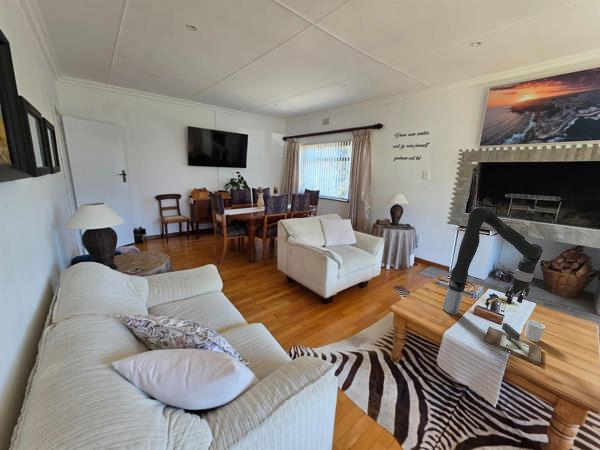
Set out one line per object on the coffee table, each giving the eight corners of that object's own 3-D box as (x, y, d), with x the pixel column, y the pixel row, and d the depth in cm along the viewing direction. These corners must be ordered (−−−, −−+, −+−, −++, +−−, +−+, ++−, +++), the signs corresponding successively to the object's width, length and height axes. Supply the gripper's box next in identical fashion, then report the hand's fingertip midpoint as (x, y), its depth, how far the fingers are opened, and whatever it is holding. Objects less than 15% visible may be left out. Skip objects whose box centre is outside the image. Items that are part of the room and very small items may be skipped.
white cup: (534, 343, 143) (539, 329, 140) (519, 334, 150) (524, 320, 148) (543, 341, 145) (548, 327, 143) (528, 332, 152) (533, 318, 150)
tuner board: (483, 341, 143) (484, 338, 143) (488, 328, 154) (489, 325, 154) (539, 365, 127) (540, 362, 126) (540, 350, 138) (541, 346, 138)
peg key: (500, 332, 148) (502, 322, 146) (504, 333, 148) (507, 323, 146) (518, 349, 134) (521, 339, 133) (522, 350, 134) (526, 339, 133)
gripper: (524, 274, 142) (515, 298, 147) (506, 275, 139) (497, 300, 143) (539, 280, 136) (529, 305, 140) (520, 282, 132) (511, 308, 136)
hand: (513, 303), depth 142 cm, fingers open, 8 cm apart
